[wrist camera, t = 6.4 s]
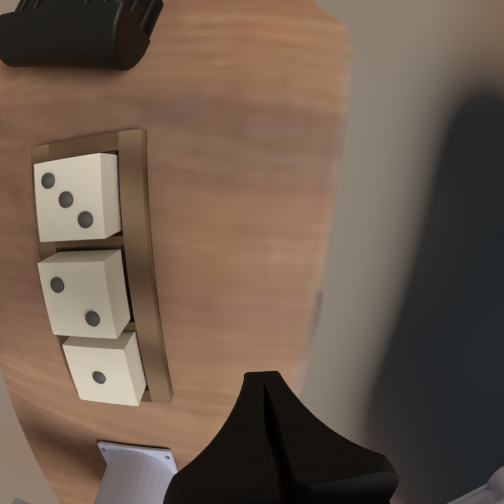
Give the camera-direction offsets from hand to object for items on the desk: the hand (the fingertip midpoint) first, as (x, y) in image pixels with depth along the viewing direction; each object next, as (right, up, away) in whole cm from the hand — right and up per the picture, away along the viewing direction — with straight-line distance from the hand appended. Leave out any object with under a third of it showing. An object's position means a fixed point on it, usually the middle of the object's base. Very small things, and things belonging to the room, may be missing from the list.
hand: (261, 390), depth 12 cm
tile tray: (-12, +4, +9) cm, 15 cm away
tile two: (-11, +3, +8) cm, 14 cm away
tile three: (-12, +9, +7) cm, 17 cm away
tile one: (-11, -3, +10) cm, 16 cm away
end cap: (-12, +22, +5) cm, 25 cm away
